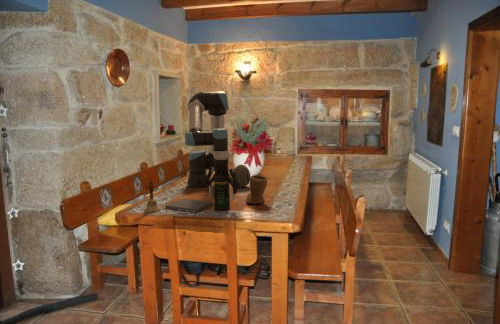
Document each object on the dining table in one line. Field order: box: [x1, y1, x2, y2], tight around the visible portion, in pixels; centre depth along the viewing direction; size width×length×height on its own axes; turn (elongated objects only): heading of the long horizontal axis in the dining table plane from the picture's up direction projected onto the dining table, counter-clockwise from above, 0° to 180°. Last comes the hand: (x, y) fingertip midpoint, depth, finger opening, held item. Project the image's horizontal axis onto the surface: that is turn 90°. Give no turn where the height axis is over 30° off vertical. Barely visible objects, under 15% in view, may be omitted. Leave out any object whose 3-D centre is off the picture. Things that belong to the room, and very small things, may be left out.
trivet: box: [165, 198, 214, 213], centre depth 206 cm, size 20×16×2 cm
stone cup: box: [245, 174, 268, 205], centre depth 213 cm, size 15×12×15 cm
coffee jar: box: [213, 174, 231, 211], centre depth 201 cm, size 10×8×19 cm
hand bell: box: [143, 179, 161, 213], centre depth 199 cm, size 8×8×16 cm
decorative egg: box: [234, 164, 252, 188], centre depth 249 cm, size 12×12×15 cm
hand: (222, 198), depth 201 cm, fingers open, 13 cm apart
